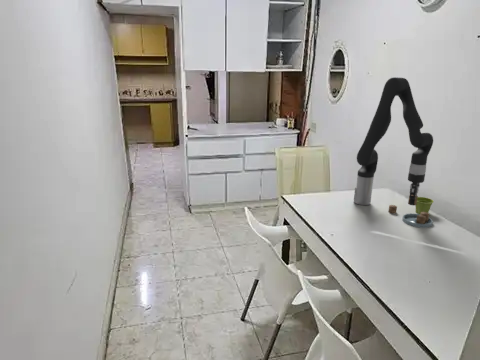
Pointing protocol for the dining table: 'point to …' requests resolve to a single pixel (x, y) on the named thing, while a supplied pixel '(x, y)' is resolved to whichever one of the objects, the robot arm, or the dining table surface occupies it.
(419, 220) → the seated bead
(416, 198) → the brown rounded dome
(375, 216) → the dining table surface
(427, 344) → the dining table surface
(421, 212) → the seated bead
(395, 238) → the dining table surface
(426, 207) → the plant pot
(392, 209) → the pile bead
